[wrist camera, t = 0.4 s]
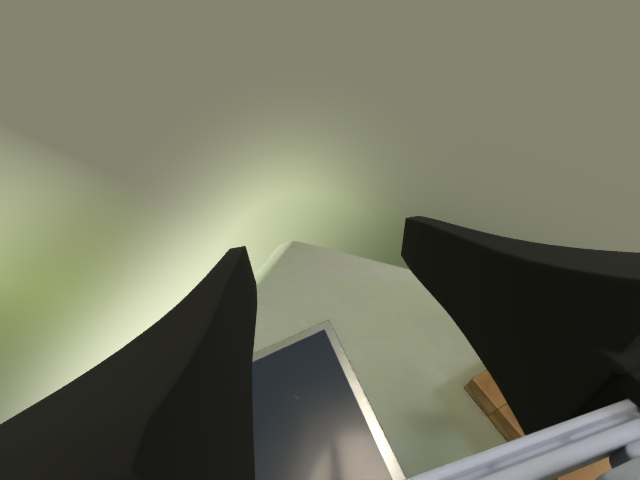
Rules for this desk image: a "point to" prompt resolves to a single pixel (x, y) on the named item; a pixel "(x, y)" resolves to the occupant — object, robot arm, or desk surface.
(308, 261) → the desk surface
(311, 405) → the tablet
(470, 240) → the robot arm
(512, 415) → the pen stand
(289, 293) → the desk surface
